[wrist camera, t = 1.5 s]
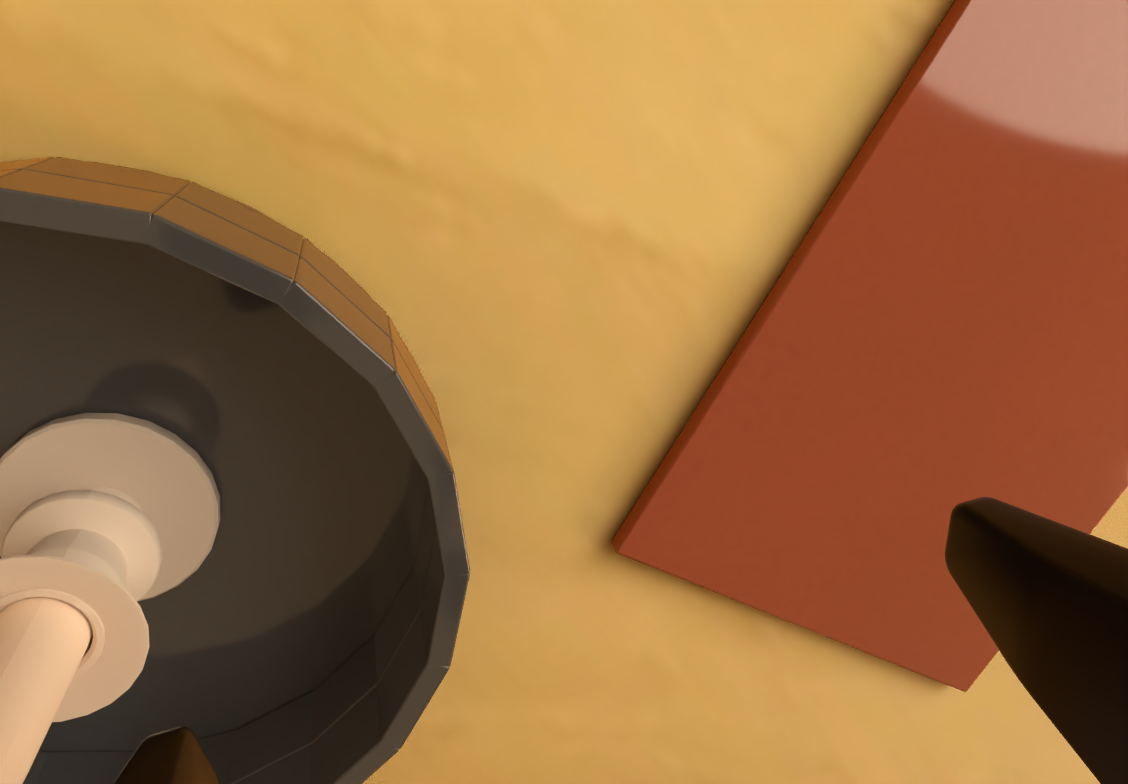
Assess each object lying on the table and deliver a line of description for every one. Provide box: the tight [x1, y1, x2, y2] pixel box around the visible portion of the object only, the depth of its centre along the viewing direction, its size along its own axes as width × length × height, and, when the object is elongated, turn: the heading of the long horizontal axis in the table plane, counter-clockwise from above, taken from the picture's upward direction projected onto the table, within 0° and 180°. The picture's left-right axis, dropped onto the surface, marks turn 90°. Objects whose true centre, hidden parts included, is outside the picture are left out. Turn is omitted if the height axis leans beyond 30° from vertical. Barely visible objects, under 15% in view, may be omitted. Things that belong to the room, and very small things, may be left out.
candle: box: [0, 413, 220, 784], centre depth 16 cm, size 5×5×10 cm
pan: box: [0, 157, 470, 784], centre depth 19 cm, size 17×17×4 cm
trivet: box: [611, 0, 1128, 692], centre depth 26 cm, size 20×16×1 cm
